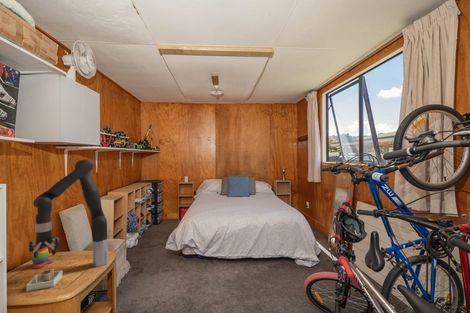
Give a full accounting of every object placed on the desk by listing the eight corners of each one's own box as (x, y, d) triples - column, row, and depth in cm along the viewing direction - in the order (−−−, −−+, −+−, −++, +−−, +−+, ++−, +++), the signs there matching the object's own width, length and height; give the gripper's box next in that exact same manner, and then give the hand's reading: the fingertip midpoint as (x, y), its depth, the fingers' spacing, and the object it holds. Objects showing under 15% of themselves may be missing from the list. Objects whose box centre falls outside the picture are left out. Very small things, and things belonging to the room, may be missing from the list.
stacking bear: (38, 269, 154) (38, 243, 154) (27, 268, 156) (26, 242, 156) (54, 261, 164) (53, 237, 164) (43, 260, 166) (42, 236, 166)
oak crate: (53, 278, 140) (53, 269, 140) (49, 283, 135) (49, 273, 135) (42, 280, 138) (41, 270, 138) (37, 285, 133) (36, 275, 133)
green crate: (62, 275, 145) (62, 270, 145) (53, 286, 132) (53, 280, 132) (37, 279, 140) (37, 274, 140) (26, 291, 128) (26, 285, 128)
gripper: (60, 226, 142) (61, 251, 142) (32, 229, 137) (33, 255, 137) (55, 230, 135) (56, 256, 135) (25, 233, 130) (27, 261, 130)
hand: (45, 256), depth 136 cm, fingers open, 8 cm apart
